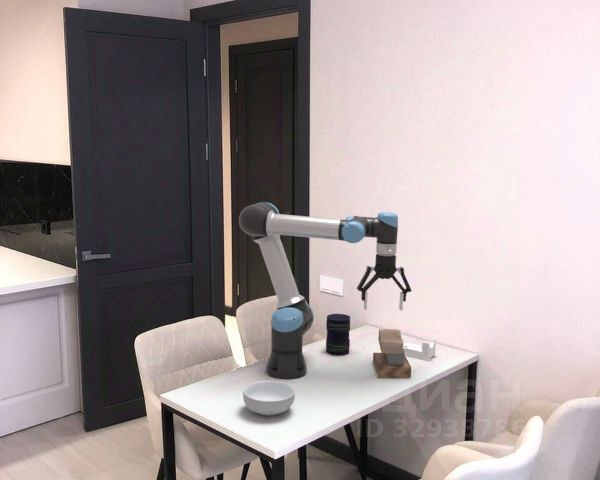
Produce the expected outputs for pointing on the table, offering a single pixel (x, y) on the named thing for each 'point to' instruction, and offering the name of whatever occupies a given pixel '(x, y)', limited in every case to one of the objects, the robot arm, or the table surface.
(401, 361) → the tower top
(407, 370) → the tower base
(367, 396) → the table surface
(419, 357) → the bracket
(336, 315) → the dark blue barrel
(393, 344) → the brick
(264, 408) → the cereal bowl
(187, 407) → the table surface
